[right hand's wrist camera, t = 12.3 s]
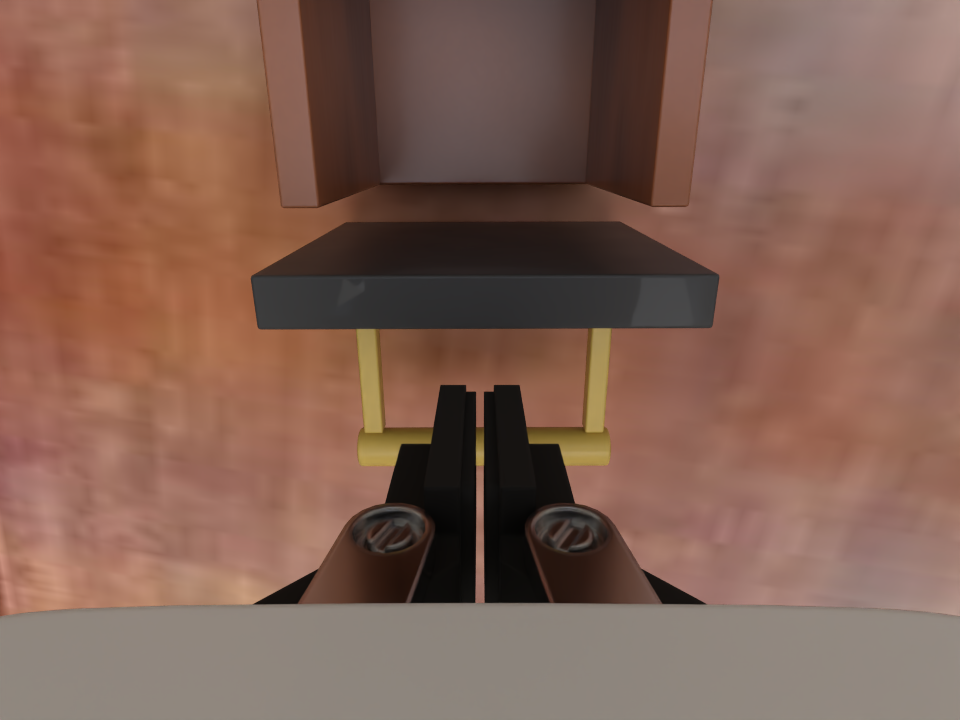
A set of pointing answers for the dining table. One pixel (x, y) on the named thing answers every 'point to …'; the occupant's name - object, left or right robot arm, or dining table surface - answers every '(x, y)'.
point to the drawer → (484, 175)
